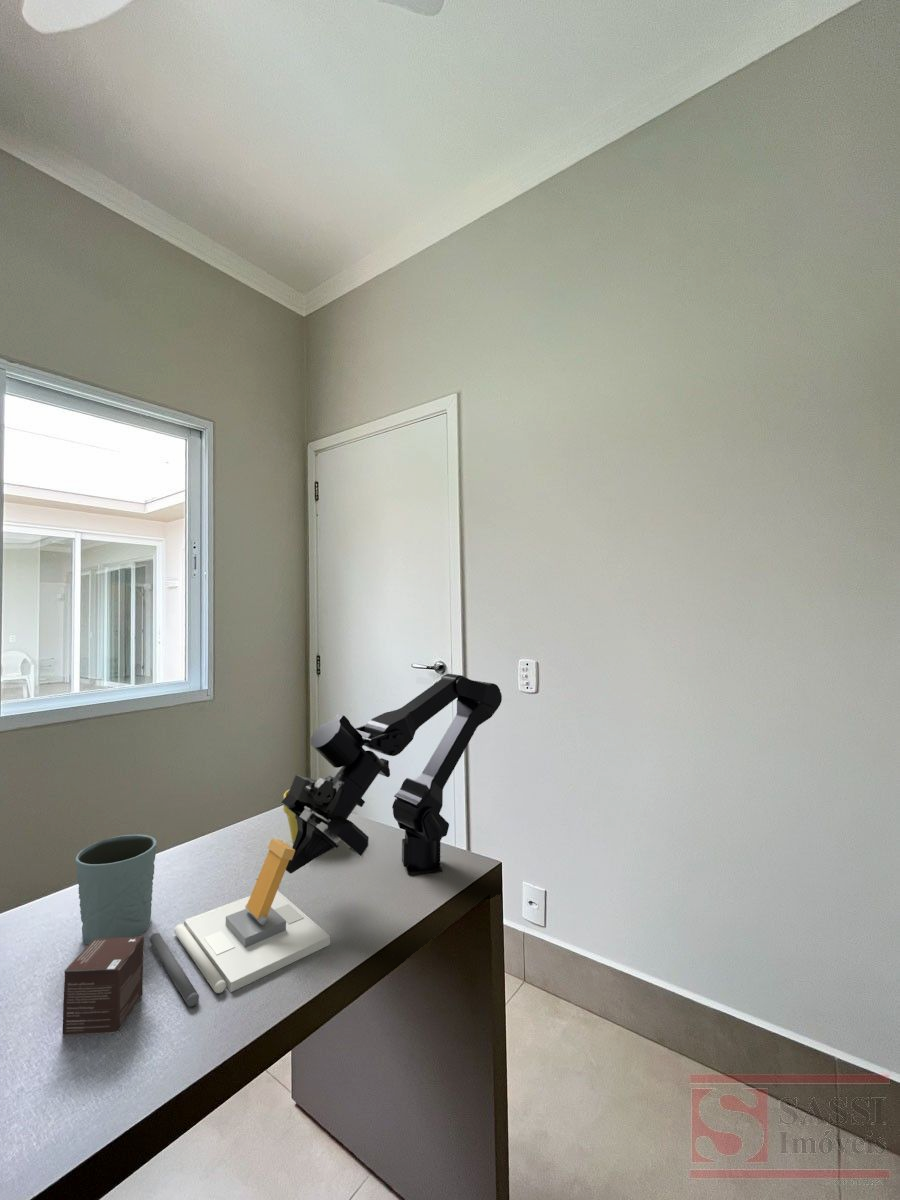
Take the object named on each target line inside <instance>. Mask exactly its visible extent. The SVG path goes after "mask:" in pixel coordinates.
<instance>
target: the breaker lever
mask: <svg viewBox="0 0 900 1200" xmlns="http://www.w3.org/2000/svg"><path fill="white" fill-rule="evenodd" d="M292 847H293V846H292ZM292 847H291V846H290V845H289V844H287V843H286V842H285V841H283V840H280V839H277V838H276V839H275V838H271V839H270V841H269V844H268V846H267V849H269V850H268V852H267V854H266V857H265V860H264V862H263V864H262V867H261V869H260V871H259V874H258V876H257V879H256V881H255V884H254V886H253V889H252V892H251V894H250V895H249V896H250V899H249V901H248V903H247V904H246V906H245V908H246V910H247V911H248V912H249V913H250V914H251V915H252V916H253V917H254V918H255V919H256V920H257V921H258V922H259V923H260V924H261V925H264V924H265V923H266V921H267V916H268V913H269V911H270V908H271V905H272V903H273V900H274V898H275V895H276V893H277V890H278V891H279V887H280V884H282V883H281V882H282V879H283V877H284V875H285V872H286V867H287V865H288V862H289V860H292V858H293V856H294V853H295V850H294V849H293V848H292Z"/></svg>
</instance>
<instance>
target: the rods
mask: <svg viewBox="0 0 900 1200" xmlns="http://www.w3.org/2000/svg"><path fill="white" fill-rule="evenodd" d="M173 933H174V934H175V936H176V937H177V939H178V940H179V942H180V943H181V945H182V946H183V947H184V949H185V951H186V952H187V953H188V954H189V956H190V957H191V959H192V960H193V962H194V964H195V965H196V966H197V968H198V969H199V971H200V972H201V974H202V975H203V977H204V978H205V980H206V981H207V982H208V983H209V985H210V987H211V988H212V990H213V991H214V992H215V993H216V994H221V993H223V992H224V991H225V989H226V988H227V986H226V982H225V981H224V979H223V978H222V977H221V975H220V974H219V972H218V971H217V970H216V968H215V967H214V966H213V964H212V963H211V962H210V960H209V959H208V957H207V956H206V955H205V953H204V952H203V951H202V949H201V948H200V947H199V945H198V944H197V942H196V941H195V940H194V938H193V937H192V936H191V934H190V933H189V931H188V930H187V929H186V927H185V926H184V924H183V923H179V924H177V925H175V928H174V929H173ZM149 943H150V945H151V946H152V948H153V950H154V951H155V953H156V954H157V957H158V958H159V960H160V961H161V963H162V965H163V967H164V968H165V970H166V971H167V973H168V976H170V978H171V980H172V981H173V983H174V984H175V987H176V988H177V990H178V992H179V993H180V995H181V997H182V998H183V1001H184V1002H185V1003H186V1005H187V1006H188V1007H194V1006H195V1005H197V1004H198V1002H199V999H200V996H199V993H198V991H197V990H196V988H195V987H194V985H193V983H192V982H191V980H190V979H189V978H188V975H187V974H186V973H185V971H184V969H183V968H182V966H181V965H180V963H179V962H178V960H177V959H176V957H175V955H174V954H173V952H172V951H171V949H170V948H169V946H168V944H167V943H166V942H165V939H164V938H163V937H162V935H161V934H160V933H159V932H154V933H153V934H152V935H151V936H150V937H149Z"/></svg>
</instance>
